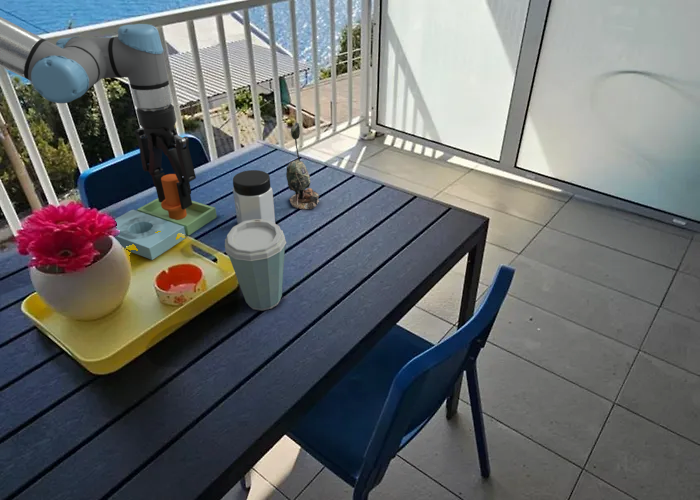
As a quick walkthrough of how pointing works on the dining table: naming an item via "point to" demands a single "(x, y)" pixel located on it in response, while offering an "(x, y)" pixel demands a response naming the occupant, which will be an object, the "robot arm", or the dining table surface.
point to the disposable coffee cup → (258, 261)
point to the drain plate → (147, 233)
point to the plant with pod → (300, 179)
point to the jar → (253, 196)
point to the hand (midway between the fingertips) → (175, 203)
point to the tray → (192, 222)
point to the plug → (172, 197)
